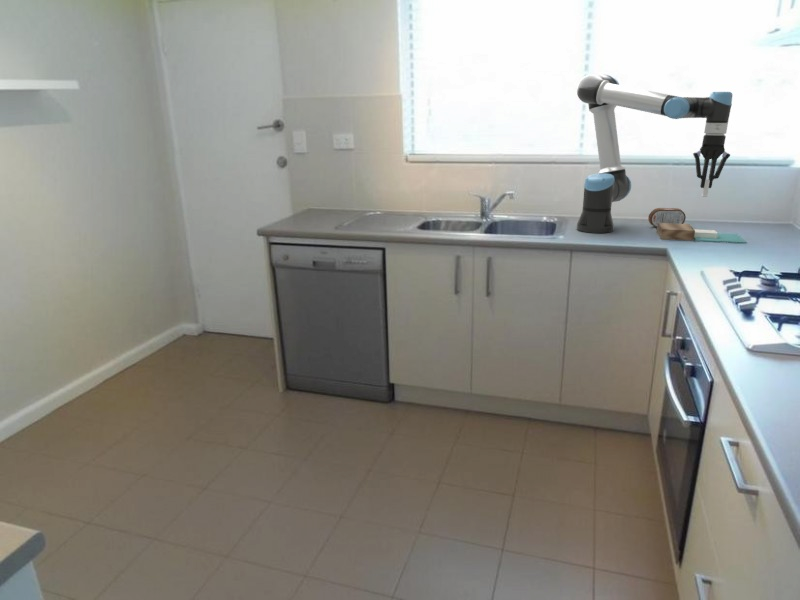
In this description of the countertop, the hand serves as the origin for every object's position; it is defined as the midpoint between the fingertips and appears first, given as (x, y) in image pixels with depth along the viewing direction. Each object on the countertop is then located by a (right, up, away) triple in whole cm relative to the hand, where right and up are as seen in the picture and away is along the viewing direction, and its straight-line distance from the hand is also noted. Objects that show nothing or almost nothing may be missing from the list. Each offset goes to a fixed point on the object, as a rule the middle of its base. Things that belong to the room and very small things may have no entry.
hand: (704, 196), depth 227 cm
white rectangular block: (+2, -15, +4) cm, 16 cm away
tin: (-4, -9, +25) cm, 27 cm away
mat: (+7, -16, +3) cm, 18 cm away
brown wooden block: (-8, -15, +8) cm, 19 cm away
